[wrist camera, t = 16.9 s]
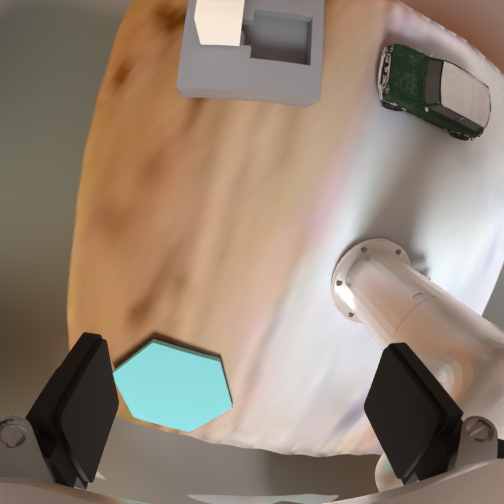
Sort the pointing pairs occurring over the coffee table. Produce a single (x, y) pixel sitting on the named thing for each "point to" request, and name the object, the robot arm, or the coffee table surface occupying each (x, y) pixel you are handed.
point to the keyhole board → (259, 55)
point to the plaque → (173, 386)
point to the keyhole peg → (219, 22)
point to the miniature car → (434, 91)
